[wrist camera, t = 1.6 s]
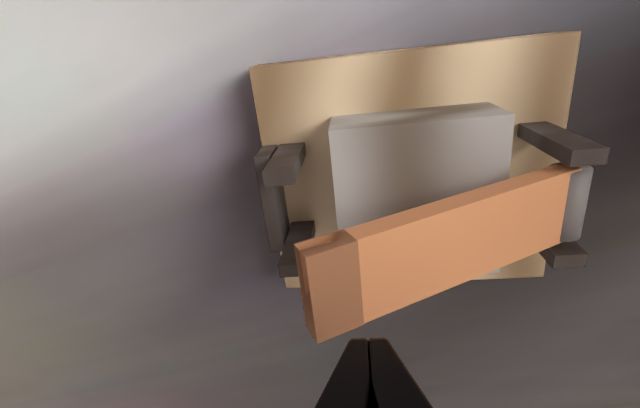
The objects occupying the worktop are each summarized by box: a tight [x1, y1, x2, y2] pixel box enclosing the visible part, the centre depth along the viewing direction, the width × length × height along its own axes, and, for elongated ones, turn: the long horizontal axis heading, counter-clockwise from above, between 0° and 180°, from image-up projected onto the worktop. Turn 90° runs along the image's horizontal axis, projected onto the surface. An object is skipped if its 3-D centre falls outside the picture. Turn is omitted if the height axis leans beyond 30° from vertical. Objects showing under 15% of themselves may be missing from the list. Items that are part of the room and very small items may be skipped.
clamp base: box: [249, 31, 610, 288], centre depth 17 cm, size 14×12×6 cm
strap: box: [294, 162, 594, 344], centre depth 13 cm, size 12×3×1 cm, turn 97°
